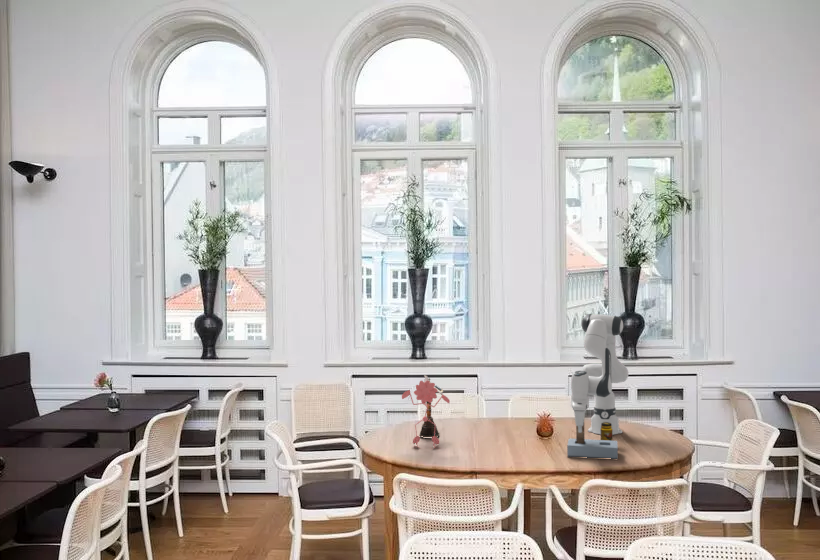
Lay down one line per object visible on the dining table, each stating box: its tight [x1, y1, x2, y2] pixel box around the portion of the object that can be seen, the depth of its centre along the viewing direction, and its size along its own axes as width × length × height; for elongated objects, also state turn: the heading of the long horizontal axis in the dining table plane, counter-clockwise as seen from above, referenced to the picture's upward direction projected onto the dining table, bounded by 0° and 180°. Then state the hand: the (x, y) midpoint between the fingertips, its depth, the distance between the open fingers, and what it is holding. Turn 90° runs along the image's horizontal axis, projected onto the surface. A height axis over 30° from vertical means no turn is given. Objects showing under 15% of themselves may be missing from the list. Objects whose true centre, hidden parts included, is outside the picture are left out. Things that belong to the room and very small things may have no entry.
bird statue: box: [418, 374, 444, 437], centre depth 399 cm, size 17×13×35 cm
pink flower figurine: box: [401, 380, 451, 447], centre depth 380 cm, size 15×26×35 cm, turn 83°
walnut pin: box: [575, 423, 585, 444], centre depth 358 cm, size 4×4×14 cm
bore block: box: [566, 438, 619, 460], centre depth 356 cm, size 14×24×6 cm, turn 75°
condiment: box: [600, 422, 614, 441], centre depth 374 cm, size 7×8×12 cm
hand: (580, 431), depth 358 cm, fingers closed on walnut pin, 4 cm apart
